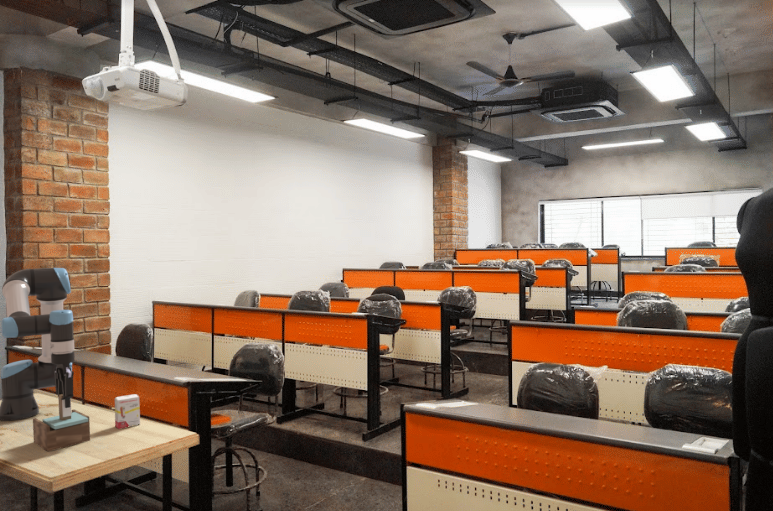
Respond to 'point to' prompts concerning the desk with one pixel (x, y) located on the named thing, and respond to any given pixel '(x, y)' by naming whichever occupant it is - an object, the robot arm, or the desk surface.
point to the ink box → (127, 411)
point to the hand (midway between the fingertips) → (65, 415)
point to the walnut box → (60, 434)
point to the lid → (64, 418)
